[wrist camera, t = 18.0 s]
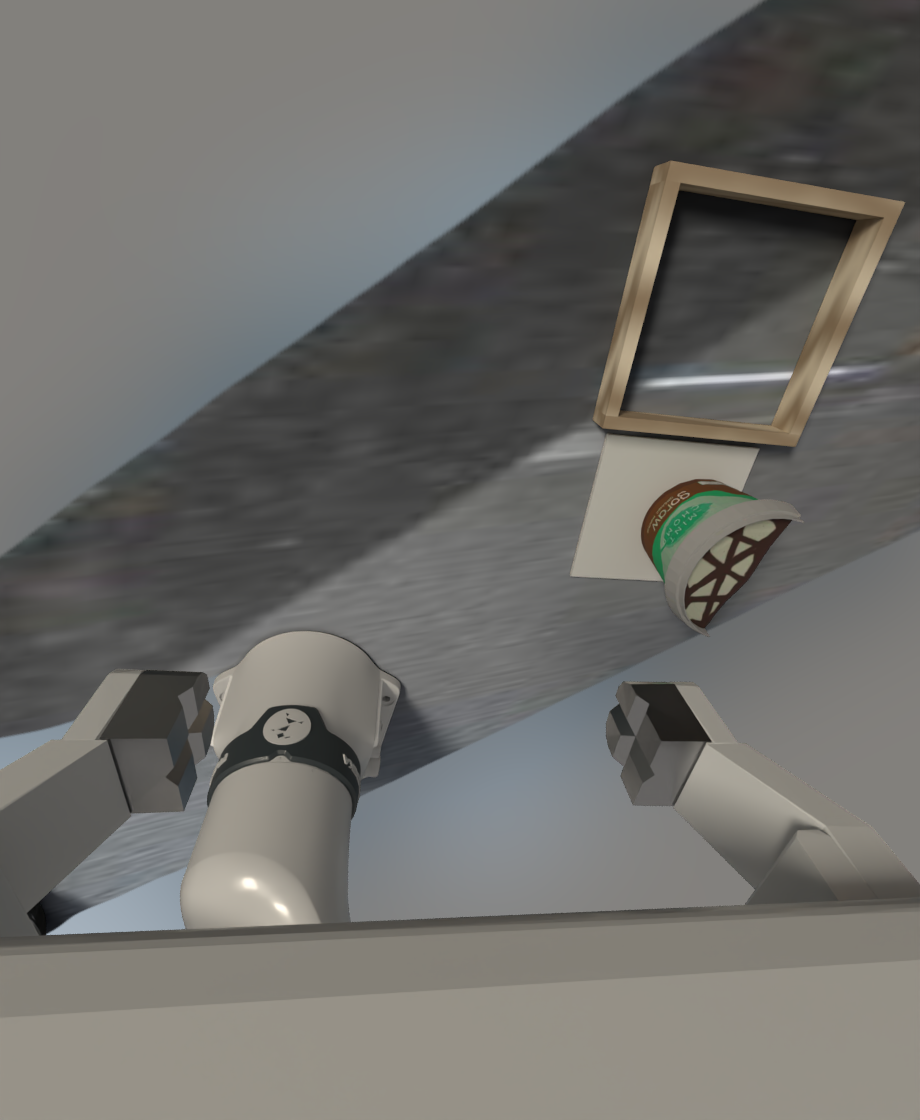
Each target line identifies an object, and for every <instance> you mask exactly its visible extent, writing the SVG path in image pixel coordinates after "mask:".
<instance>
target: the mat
mask: <svg viewBox="0 0 920 1120" xmlns="http://www.w3.org/2000/svg"><path fill="white" fill-rule="evenodd" d="M758 451H759V448H757V447H746V446H735V445H725V444H714V443H704V442H693V441H683V440H672V439H661V438H651V437H640V436H630V435H619V434H608V433H607V434H606V437H605V441H604V445H603V449H602V453H601V457H600V460H599V464H598V468H597V472H596V476H595V480H594V483H593V487H592V491H591V495H590V499H589V503H588V506H587V510H586V514H585V518H584V522H583V526H582V529H581V533H580V537H579V541H578V545H577V549H576V552H575V556H574V560H573V564H572V568H571V572H570V576H573V577H592V578H611V579H630V580H649V581H663V580H662V578H661V576H660V575H659V573H658V571H657V570H656V568H655V566H654V565H653V563H652V562H651V560H650V558H649V557H648V555H647V553H646V552H645V550H644V548H643V545H642V541H641V527H642V523H643V520H644V517H645V515H646V513H647V511H648V510H649V508H650V507H651V505H652V504H653V503H654V501H656V500H657V499H658V498H659V497H660V496H661V495H662V494H663V493H664V492H666V491H667V490H669V489H671V488H672V487H674V486H676V485H678V484H679V483H683V482H687V481H690V480H694V479H713V480H716V481H719V482H722V483H724V484H726V485H728V486H730V487H733V488H735V489H737V490H739V491H741V492H742V490H743V487H744V485H745V482H746V480H747V478H748V475H749V473H750V470H751V468H752V466H753V463H754V461H755V458H756V456H757V453H758Z"/></svg>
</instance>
